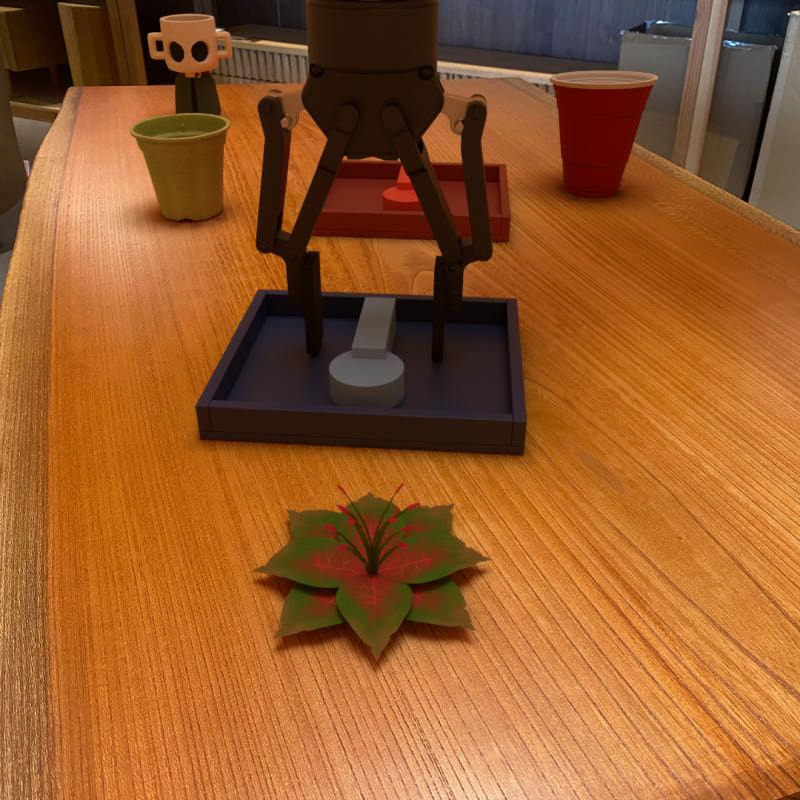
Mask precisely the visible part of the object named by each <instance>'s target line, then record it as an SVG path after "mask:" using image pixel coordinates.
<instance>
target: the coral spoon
mask: <svg viewBox="0 0 800 800" xmlns="http://www.w3.org/2000/svg"><path fill="white" fill-rule="evenodd" d="M383 211H417V212H423V209H422V207H421V204H420V202H419V200H418V197H417V195H416V193H415V190H414V188H413V186H412V183H411V181H410V179H409V177H408V176H407V175H406V173H405V171H404V168H403V166H401V169H400V173H399V176H398V180H397V187H392V188H389V189H387V190H385V191H384V192H383Z"/></svg>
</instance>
